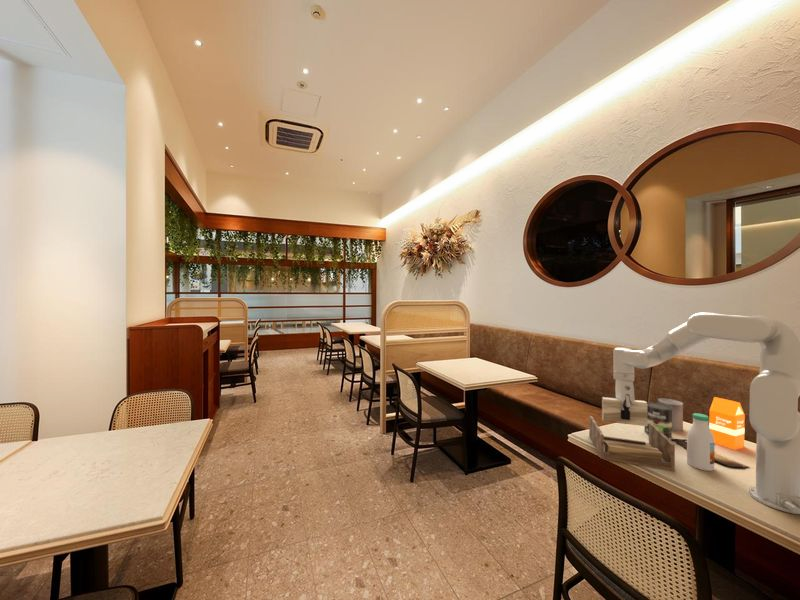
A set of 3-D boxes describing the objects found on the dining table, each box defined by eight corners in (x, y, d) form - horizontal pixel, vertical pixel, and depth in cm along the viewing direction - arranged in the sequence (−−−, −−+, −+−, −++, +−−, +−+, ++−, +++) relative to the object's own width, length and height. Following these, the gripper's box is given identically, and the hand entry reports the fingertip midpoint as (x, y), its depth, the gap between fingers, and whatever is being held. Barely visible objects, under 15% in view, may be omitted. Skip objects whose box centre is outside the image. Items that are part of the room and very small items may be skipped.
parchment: (752, 468, 120) (752, 466, 120) (730, 469, 119) (730, 467, 119) (684, 440, 145) (684, 438, 145) (666, 441, 143) (666, 439, 143)
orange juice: (718, 438, 146) (718, 395, 146) (744, 447, 138) (745, 401, 138) (708, 441, 143) (709, 397, 143) (735, 450, 135) (735, 403, 135)
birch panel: (647, 426, 134) (647, 402, 134) (603, 421, 140) (603, 398, 140) (644, 423, 137) (644, 400, 137) (602, 419, 142) (601, 396, 142)
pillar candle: (660, 423, 164) (660, 394, 164) (685, 429, 157) (685, 399, 157) (655, 427, 158) (655, 398, 158) (680, 434, 151) (680, 403, 151)
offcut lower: (661, 463, 122) (661, 458, 122) (607, 455, 128) (607, 450, 128) (656, 457, 126) (656, 452, 126) (604, 450, 133) (604, 445, 133)
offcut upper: (662, 458, 122) (662, 453, 122) (608, 451, 128) (608, 446, 128) (656, 453, 126) (656, 448, 126) (605, 446, 132) (605, 441, 132)
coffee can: (670, 442, 142) (670, 411, 142) (642, 434, 150) (642, 405, 150) (673, 435, 149) (674, 406, 149) (646, 428, 157) (646, 400, 157)
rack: (674, 471, 118) (674, 444, 118) (600, 459, 127) (600, 434, 127) (651, 445, 139) (651, 423, 139) (589, 436, 148) (589, 415, 147)
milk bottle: (704, 472, 117) (704, 419, 117) (681, 462, 125) (682, 412, 125) (719, 470, 119) (720, 417, 119) (696, 460, 127) (697, 410, 126)
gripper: (640, 381, 129) (641, 425, 129) (627, 372, 145) (628, 412, 144) (619, 379, 132) (619, 423, 132) (608, 371, 147) (609, 410, 147)
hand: (624, 417), depth 138 cm, fingers closed on birch panel, 3 cm apart
